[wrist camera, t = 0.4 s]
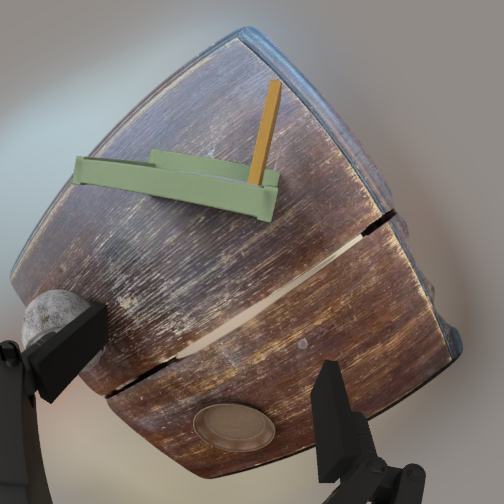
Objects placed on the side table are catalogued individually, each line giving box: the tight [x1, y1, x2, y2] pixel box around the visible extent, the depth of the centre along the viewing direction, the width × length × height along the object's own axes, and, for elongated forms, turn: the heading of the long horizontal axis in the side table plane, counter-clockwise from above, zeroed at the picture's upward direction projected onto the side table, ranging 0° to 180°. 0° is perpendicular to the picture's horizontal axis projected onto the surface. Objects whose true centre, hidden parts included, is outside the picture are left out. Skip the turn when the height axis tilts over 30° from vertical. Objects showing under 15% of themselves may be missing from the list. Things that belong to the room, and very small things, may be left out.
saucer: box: [193, 402, 275, 452], centre depth 43 cm, size 15×15×3 cm
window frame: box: [73, 149, 280, 223], centre depth 27 cm, size 6×17×16 cm, turn 78°
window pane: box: [179, 80, 281, 188], centre depth 26 cm, size 11×7×13 cm, turn 168°
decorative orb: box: [21, 290, 106, 374], centre depth 35 cm, size 15×14×15 cm
